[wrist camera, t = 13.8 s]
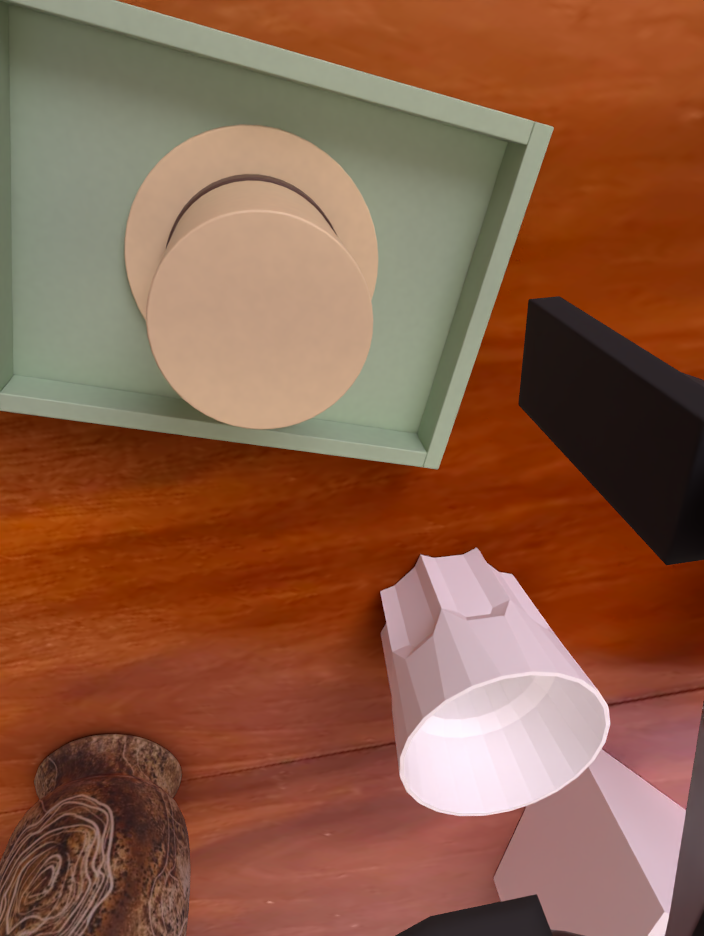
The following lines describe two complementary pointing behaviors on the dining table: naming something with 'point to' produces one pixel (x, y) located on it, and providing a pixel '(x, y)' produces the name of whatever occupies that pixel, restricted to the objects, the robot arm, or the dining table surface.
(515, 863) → the block
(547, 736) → the cup
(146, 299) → the hat
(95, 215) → the tray
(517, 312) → the dining table surface
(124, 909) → the vase
